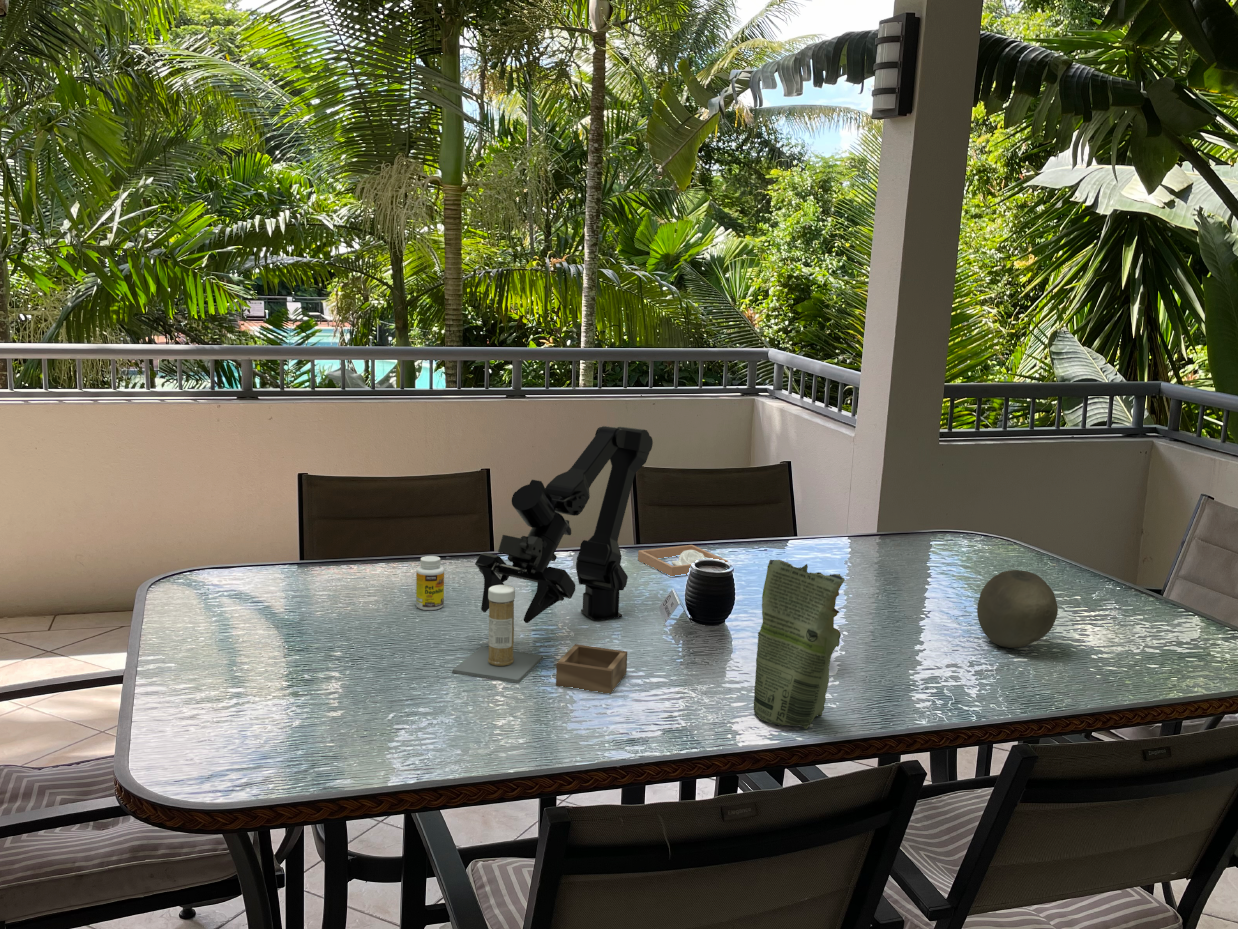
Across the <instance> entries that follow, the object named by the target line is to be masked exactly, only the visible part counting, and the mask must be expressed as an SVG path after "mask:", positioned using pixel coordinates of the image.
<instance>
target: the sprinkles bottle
mask: <svg viewBox="0 0 1238 929" xmlns="http://www.w3.org/2000/svg"><path fill="white" fill-rule="evenodd" d="M488 599H489V609H488V647H489V658H488V662H489V663H490V664H492V665H495V666H506V665H510V664H511V663H513V661H514V658H513V651H514V644H515V622H514V621H515V618H514V617H515V612H514V610H515V609H514V608H515V605H514V604H515V599H516V589H515V587H514V586H511V585H507V584H504V585H495V586H492V587H490V588H489V590H488Z"/></svg>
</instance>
